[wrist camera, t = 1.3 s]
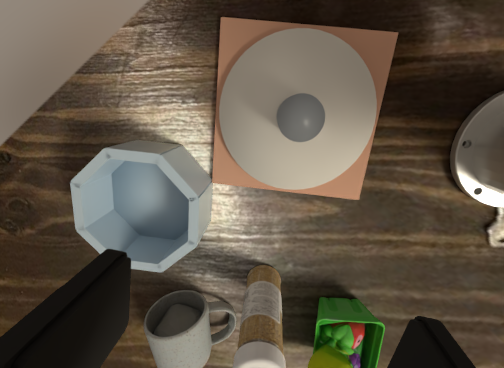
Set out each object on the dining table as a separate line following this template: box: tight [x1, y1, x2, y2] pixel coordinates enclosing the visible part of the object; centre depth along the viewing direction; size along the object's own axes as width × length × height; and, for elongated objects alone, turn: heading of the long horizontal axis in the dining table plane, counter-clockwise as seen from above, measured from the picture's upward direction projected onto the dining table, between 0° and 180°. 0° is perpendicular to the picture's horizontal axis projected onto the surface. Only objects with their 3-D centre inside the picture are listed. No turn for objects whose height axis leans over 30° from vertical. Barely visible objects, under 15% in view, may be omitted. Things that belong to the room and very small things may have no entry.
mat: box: [212, 17, 399, 200], centre depth 27 cm, size 17×17×1 cm
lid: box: [219, 28, 377, 190], centre depth 24 cm, size 16×16×6 cm
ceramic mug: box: [144, 290, 236, 368], centre depth 33 cm, size 11×8×8 cm
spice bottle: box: [233, 265, 286, 368], centre depth 28 cm, size 5×5×14 cm
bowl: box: [70, 140, 213, 273], centre depth 29 cm, size 13×13×6 cm
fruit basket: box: [308, 297, 385, 368], centre depth 30 cm, size 11×9×11 cm
